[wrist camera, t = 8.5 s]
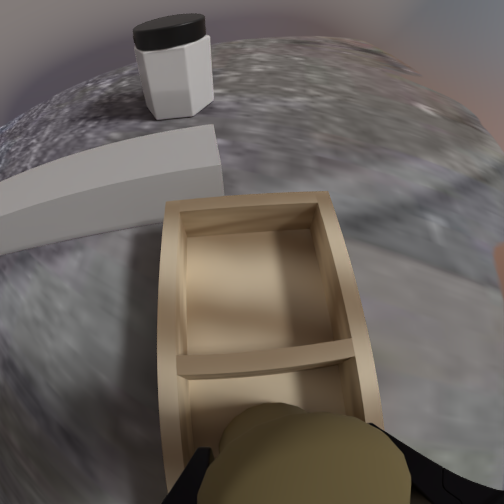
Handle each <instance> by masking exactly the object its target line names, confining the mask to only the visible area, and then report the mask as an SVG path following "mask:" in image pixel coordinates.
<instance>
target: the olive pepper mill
mask: <svg viewBox="0 0 504 504" xmlns="http://www.w3.org/2000/svg"><path fill="white" fill-rule="evenodd" d="M410 494H411V475H410V472H409V469H408V466H407V463H406V460H405V457H404V454H403V453H402V452H401V451H400V450H399V448H398V447H397V446H396V445H395V444H394V443H393V442H392V441H391V440H390V438H389V437H388V436H387V435H386V434H385V433H383V432H382V431H381V430H379V429H377V428H375V427H373V426H371V425H369V424H368V423H366V422H364V421H362V420H360V419H358V418H356V417H352V416H346V415H340V414H334V413H329V412H312V413H308V412H306V411H305V410H303V409H301V408H300V407H298V406H294V405H290V404H286V403H282V402H277V403H263V404H260V405H256V406H253V407H250V408H247V409H246V410H245V411H243V412H242V413H240V414H239V415H237V416H235V417H234V418H233V419H232V421H231V422H230V423H229V424H228V426H227V427H226V428H225V429H224V431H223V434H222V437H221V440H220V442H219V455H218V457H217V458H216V459H215V460H214V461H213V462H212V463H211V465H210V466H209V467H208V468H207V470H206V473H205V476H204V478H203V481H202V484H201V486H200V489H199V491H198V494H197V504H410Z"/></svg>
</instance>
